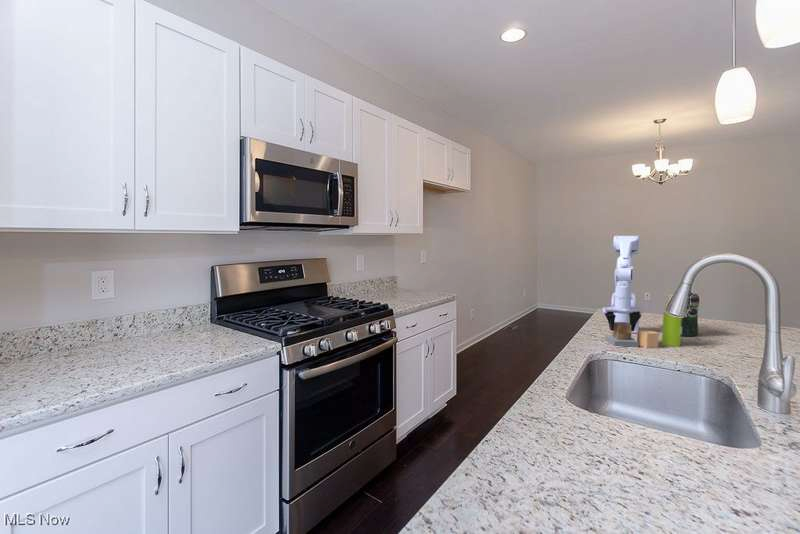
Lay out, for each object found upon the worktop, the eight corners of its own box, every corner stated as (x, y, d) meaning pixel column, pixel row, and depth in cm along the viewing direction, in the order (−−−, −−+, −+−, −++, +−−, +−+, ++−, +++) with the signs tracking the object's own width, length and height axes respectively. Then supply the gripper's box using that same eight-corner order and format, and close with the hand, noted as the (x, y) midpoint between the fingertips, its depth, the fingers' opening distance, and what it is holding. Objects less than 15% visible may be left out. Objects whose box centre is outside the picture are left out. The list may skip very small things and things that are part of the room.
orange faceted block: (648, 344, 156) (648, 329, 156) (657, 347, 151) (658, 332, 151) (637, 344, 155) (637, 330, 155) (646, 348, 150) (647, 333, 150)
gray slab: (627, 342, 160) (627, 335, 160) (638, 349, 151) (638, 341, 151) (604, 342, 161) (605, 335, 161) (614, 348, 152) (614, 341, 152)
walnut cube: (625, 336, 158) (625, 322, 158) (631, 339, 154) (631, 324, 153) (612, 336, 159) (612, 322, 159) (617, 339, 154) (618, 324, 154)
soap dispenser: (681, 343, 156) (683, 295, 155) (678, 347, 151) (681, 297, 150) (663, 340, 160) (666, 293, 159) (660, 344, 155) (663, 295, 154)
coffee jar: (685, 331, 175) (687, 291, 173) (701, 336, 167) (704, 294, 166) (666, 332, 173) (668, 292, 172) (682, 337, 165) (684, 294, 164)
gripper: (608, 298, 152) (607, 332, 153) (647, 299, 150) (645, 333, 151) (601, 295, 159) (600, 328, 160) (638, 296, 157) (637, 328, 158)
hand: (621, 330), depth 156 cm, fingers open, 7 cm apart
